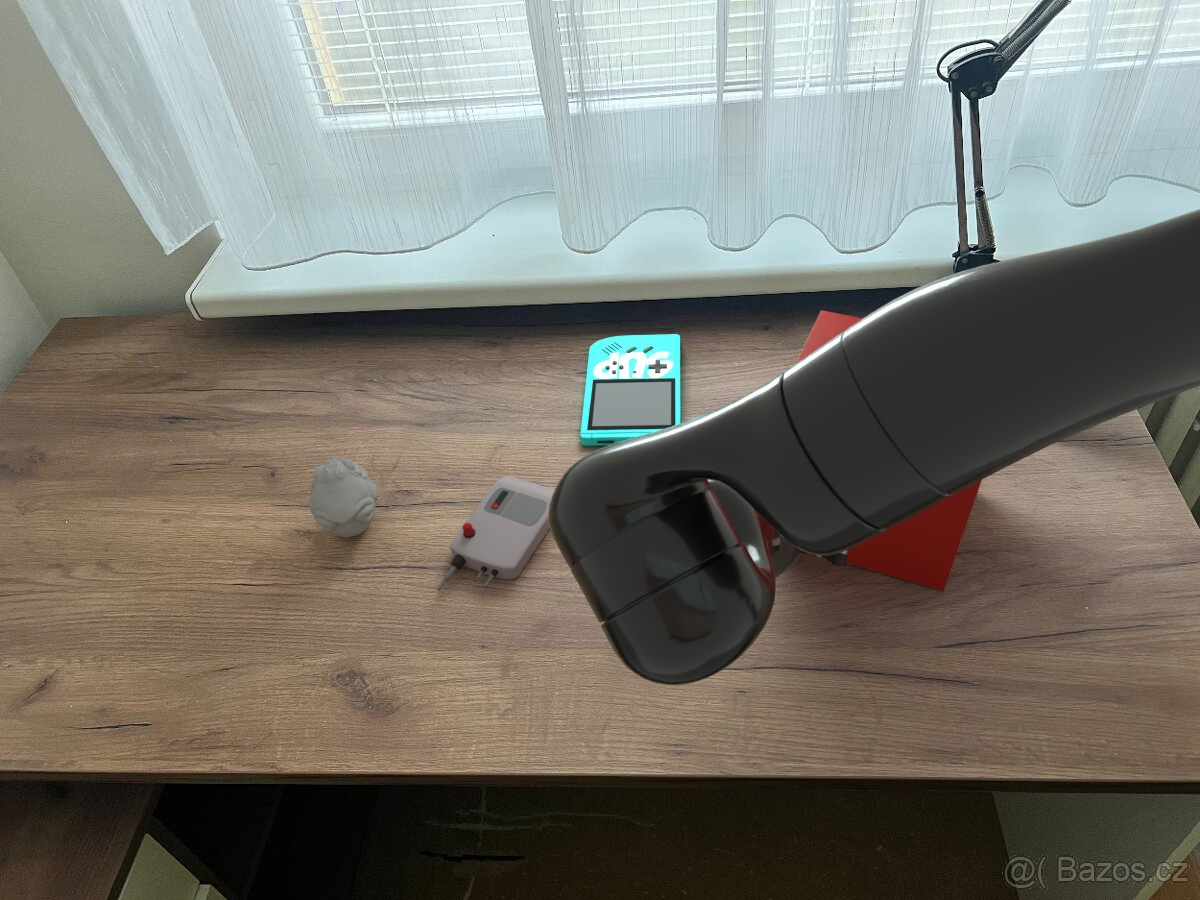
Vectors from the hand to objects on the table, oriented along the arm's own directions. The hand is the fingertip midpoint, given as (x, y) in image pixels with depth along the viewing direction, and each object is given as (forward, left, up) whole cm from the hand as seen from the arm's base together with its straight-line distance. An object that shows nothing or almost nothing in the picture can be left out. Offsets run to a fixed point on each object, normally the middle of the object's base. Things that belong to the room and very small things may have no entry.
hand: (776, 515), depth 69 cm
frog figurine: (+37, +10, -7) cm, 39 cm away
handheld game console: (+20, -16, -7) cm, 27 cm away
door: (-6, 0, -7) cm, 9 cm away
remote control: (+23, +6, -7) cm, 25 cm away
